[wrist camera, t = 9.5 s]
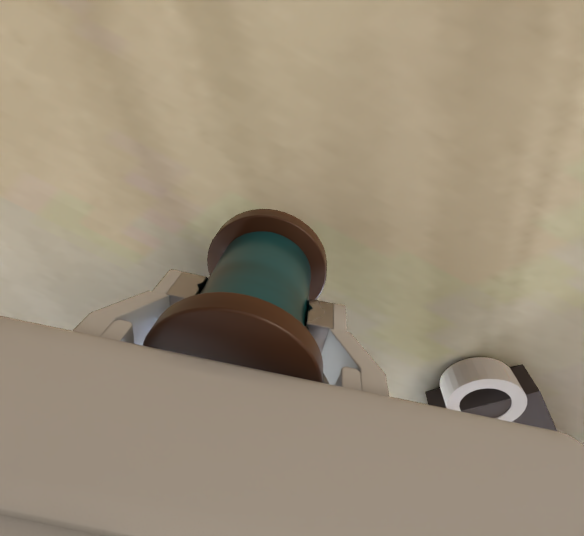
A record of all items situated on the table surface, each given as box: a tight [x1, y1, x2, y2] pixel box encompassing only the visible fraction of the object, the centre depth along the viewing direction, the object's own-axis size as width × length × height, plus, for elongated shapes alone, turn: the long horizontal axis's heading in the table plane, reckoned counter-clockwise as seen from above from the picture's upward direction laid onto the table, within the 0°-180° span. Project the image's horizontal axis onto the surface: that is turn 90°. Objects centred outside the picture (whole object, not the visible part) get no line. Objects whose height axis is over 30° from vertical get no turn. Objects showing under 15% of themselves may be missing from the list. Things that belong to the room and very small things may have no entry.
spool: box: [143, 209, 327, 383], centre depth 13 cm, size 6×6×7 cm
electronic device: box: [425, 357, 557, 431], centre depth 24 cm, size 7×3×15 cm
